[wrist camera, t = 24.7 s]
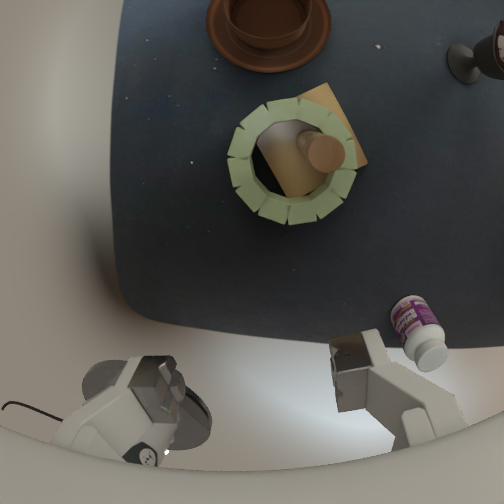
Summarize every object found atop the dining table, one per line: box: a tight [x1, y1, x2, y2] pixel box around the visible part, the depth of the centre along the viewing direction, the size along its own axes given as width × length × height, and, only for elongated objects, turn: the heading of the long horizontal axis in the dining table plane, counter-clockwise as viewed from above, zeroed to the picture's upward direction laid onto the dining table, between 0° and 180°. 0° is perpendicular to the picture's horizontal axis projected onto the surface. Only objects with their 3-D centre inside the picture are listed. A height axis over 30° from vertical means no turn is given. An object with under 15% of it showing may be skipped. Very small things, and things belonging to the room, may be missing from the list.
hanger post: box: [256, 83, 368, 198], centre depth 24 cm, size 9×9×12 cm
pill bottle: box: [391, 296, 448, 372], centre depth 32 cm, size 5×5×10 cm
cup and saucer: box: [206, 0, 331, 73], centre depth 22 cm, size 12×12×6 cm
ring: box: [227, 98, 358, 225], centre depth 28 cm, size 12×12×2 cm
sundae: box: [447, 20, 504, 84], centre depth 17 cm, size 7×7×15 cm
